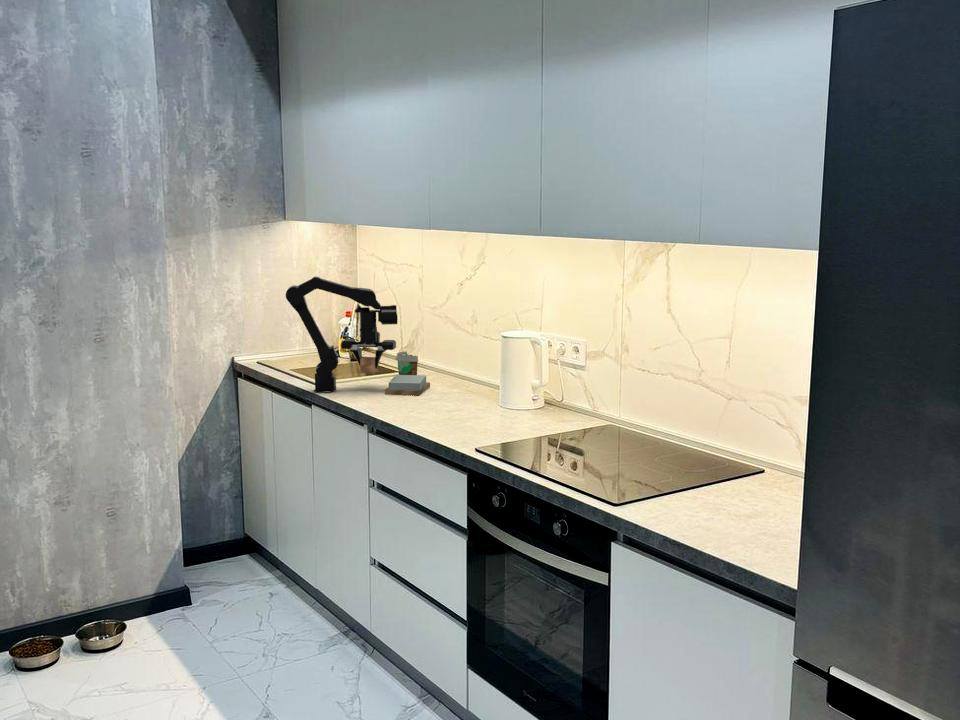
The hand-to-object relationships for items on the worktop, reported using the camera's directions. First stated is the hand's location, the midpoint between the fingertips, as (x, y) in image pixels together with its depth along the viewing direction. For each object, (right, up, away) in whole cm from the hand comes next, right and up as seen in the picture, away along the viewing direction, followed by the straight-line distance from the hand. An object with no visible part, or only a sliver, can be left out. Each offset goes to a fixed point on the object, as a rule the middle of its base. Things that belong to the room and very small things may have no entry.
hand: (369, 368), depth 347 cm
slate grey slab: (+14, -6, -1) cm, 15 cm away
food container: (+11, -5, +19) cm, 22 cm away
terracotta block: (0, -1, 0) cm, 1 cm away
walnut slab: (+14, -9, 0) cm, 16 cm away
